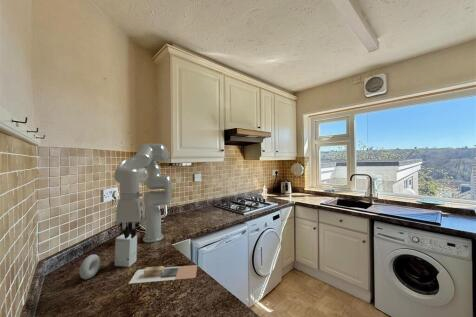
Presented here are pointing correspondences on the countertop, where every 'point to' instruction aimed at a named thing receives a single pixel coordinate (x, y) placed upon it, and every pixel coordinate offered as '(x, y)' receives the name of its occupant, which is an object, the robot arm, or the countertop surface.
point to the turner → (160, 272)
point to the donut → (85, 265)
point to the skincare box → (125, 250)
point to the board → (182, 273)
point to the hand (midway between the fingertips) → (130, 236)
